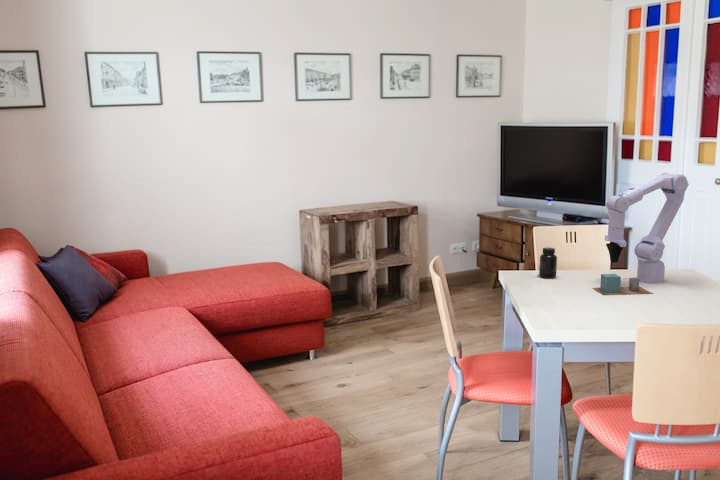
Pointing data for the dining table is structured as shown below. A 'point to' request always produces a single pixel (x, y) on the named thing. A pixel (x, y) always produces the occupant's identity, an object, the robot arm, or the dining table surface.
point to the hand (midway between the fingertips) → (614, 262)
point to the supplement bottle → (548, 263)
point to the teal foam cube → (610, 283)
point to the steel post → (633, 284)
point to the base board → (625, 291)
